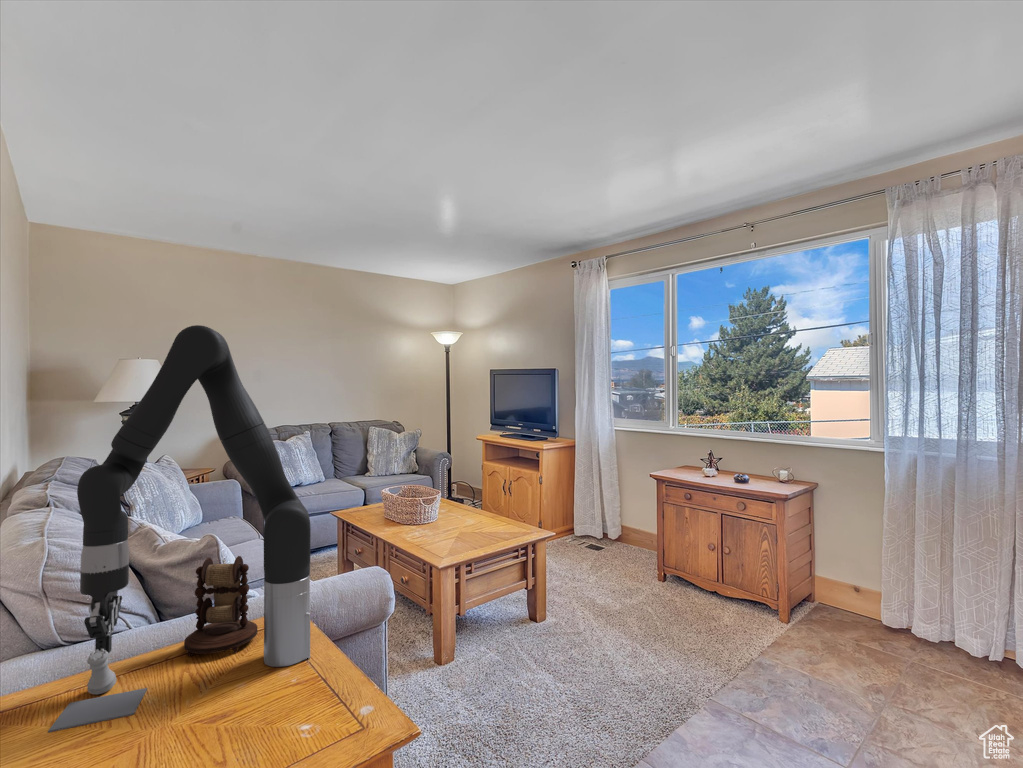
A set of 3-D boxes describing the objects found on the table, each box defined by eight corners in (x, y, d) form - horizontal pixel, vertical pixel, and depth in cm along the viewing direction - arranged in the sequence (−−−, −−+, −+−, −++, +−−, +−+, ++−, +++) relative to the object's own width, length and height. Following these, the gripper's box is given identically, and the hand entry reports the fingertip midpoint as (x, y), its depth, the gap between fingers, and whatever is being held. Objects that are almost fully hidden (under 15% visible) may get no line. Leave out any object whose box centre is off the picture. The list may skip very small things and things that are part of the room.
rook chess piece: (101, 699, 97) (96, 666, 95) (81, 692, 98) (76, 659, 95) (122, 679, 101) (118, 648, 99) (103, 673, 102) (99, 641, 100)
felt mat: (147, 689, 100) (147, 687, 100) (133, 714, 91) (133, 712, 91) (69, 704, 95) (69, 702, 95) (48, 732, 87) (48, 730, 87)
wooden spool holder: (266, 628, 126) (266, 547, 127) (243, 657, 112) (243, 565, 113) (202, 633, 124) (203, 550, 125) (170, 663, 110) (171, 569, 111)
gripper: (117, 572, 96) (115, 666, 96) (138, 554, 109) (136, 637, 108) (67, 578, 93) (64, 675, 93) (94, 558, 106) (92, 644, 105)
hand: (103, 654), depth 100 cm, fingers closed
